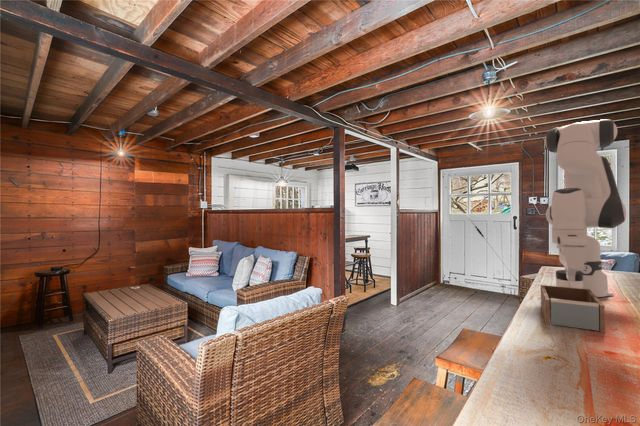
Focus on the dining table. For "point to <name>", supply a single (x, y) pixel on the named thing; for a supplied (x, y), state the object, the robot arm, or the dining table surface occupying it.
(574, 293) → the crate
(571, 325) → the panel
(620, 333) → the dining table surface
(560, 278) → the jar
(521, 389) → the dining table surface
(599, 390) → the dining table surface
